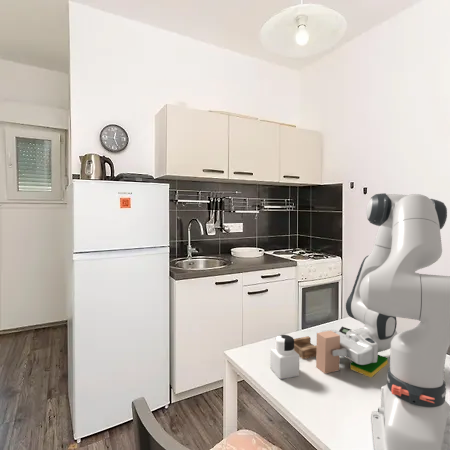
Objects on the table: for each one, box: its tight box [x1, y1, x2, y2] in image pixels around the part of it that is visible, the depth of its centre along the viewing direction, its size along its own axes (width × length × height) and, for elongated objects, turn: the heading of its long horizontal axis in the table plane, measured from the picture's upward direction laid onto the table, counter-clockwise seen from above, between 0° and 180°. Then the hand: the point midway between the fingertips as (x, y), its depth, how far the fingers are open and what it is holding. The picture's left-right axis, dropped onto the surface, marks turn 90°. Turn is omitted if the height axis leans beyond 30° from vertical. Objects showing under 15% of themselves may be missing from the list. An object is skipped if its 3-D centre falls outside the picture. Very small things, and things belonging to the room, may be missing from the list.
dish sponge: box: [350, 354, 389, 378], centre depth 106 cm, size 7×14×2 cm, turn 132°
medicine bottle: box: [269, 334, 301, 380], centre depth 101 cm, size 7×7×12 cm
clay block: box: [315, 331, 341, 375], centre depth 103 cm, size 6×4×12 cm
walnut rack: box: [293, 336, 317, 360], centre depth 117 cm, size 10×11×3 cm
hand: (325, 349), depth 103 cm, fingers closed on clay block, 4 cm apart
